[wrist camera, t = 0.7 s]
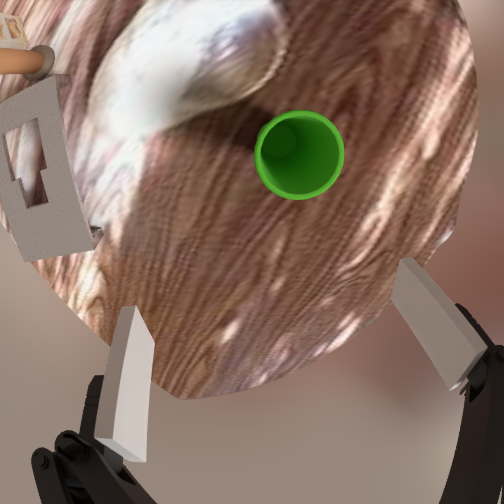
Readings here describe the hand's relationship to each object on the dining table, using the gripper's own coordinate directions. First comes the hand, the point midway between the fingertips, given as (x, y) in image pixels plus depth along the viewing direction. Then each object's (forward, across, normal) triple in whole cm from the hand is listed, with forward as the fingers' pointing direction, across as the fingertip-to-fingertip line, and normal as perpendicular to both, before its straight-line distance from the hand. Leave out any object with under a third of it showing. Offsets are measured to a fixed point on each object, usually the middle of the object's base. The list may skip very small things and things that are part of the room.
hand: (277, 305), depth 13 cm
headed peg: (+27, -24, +22) cm, 42 cm away
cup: (+27, +6, +2) cm, 28 cm away
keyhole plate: (+27, -27, +6) cm, 38 cm away
